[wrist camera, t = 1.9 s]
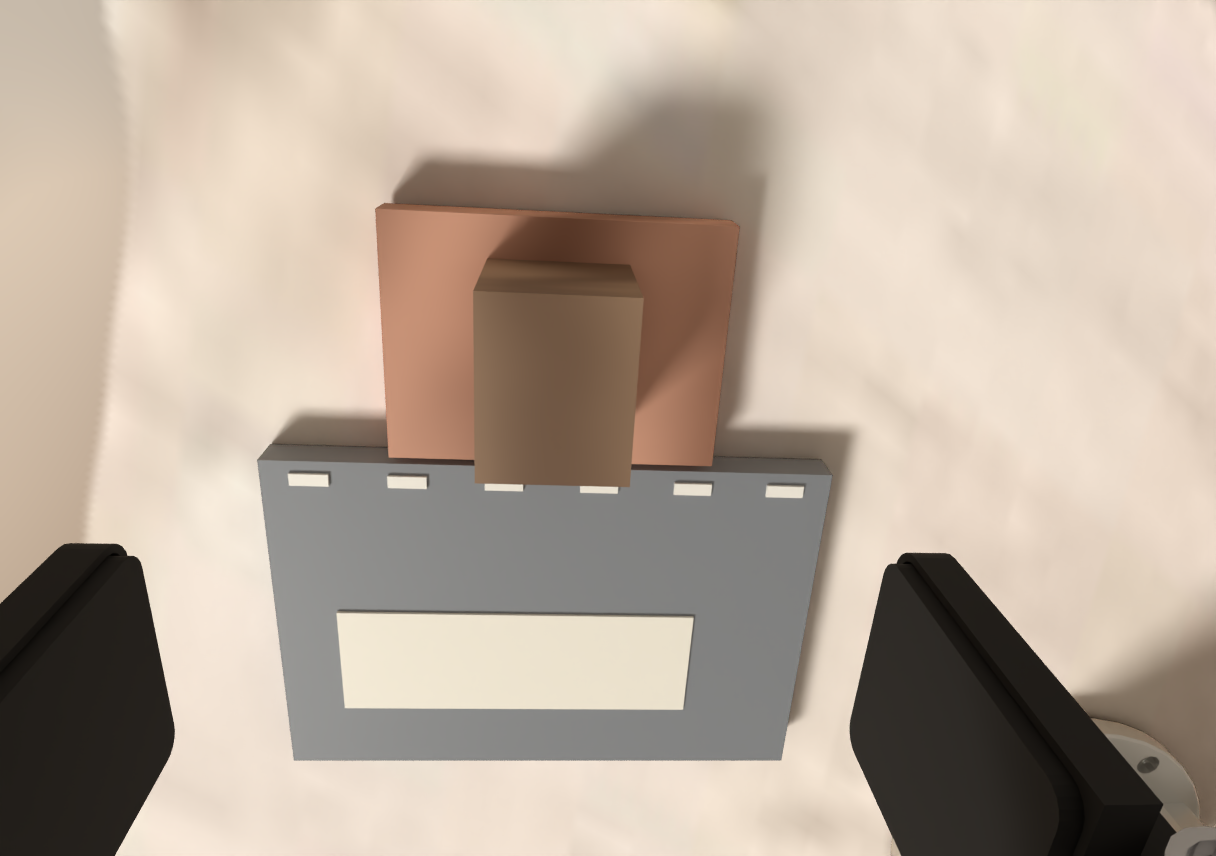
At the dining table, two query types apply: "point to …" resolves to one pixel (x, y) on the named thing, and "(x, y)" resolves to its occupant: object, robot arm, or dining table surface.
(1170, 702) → the dining table surface
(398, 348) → the wooden t-shaped block
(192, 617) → the dining table surface
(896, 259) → the dining table surface
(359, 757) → the board
